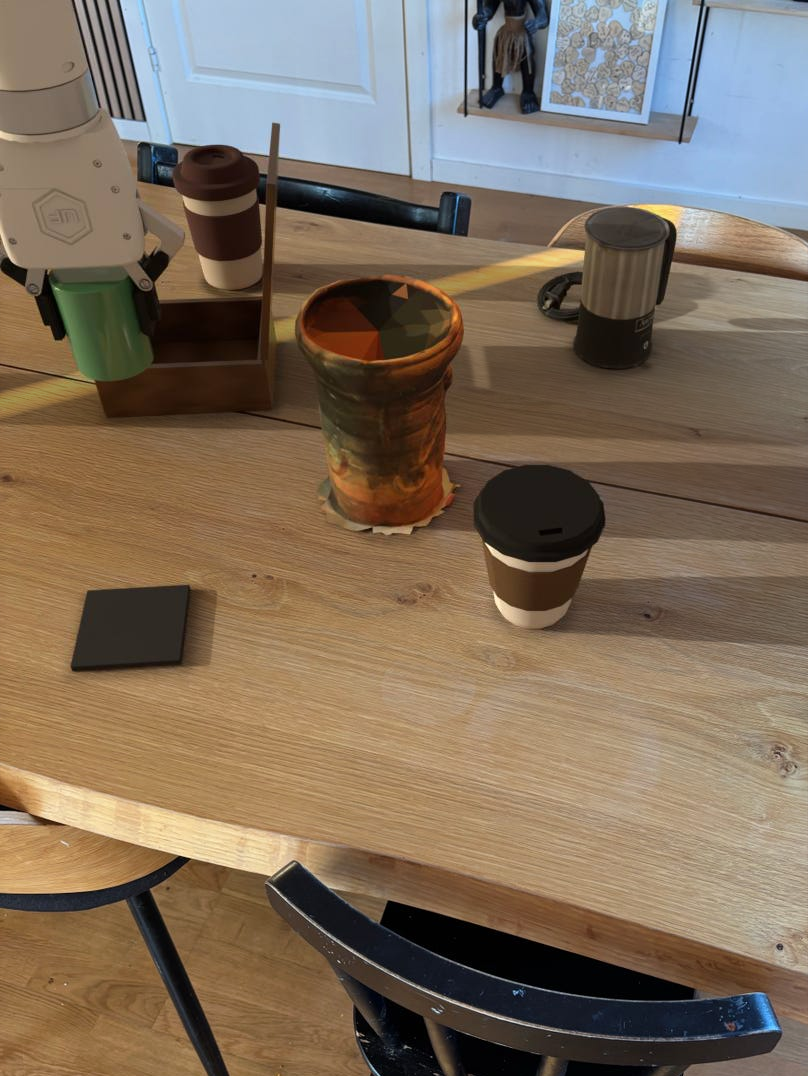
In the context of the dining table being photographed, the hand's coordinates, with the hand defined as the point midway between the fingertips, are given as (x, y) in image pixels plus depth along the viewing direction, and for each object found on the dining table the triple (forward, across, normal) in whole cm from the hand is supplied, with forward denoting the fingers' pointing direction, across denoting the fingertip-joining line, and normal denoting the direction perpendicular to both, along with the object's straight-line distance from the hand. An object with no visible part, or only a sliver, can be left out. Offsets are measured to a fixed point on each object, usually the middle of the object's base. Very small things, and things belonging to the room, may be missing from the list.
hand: (106, 327), depth 84 cm
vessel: (+20, +22, 0) cm, 30 cm away
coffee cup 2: (+20, +34, -16) cm, 43 cm away
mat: (+20, -1, -16) cm, 25 cm away
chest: (+20, +2, +22) cm, 30 cm away
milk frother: (+20, +48, +28) cm, 59 cm away
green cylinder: (+3, 0, 0) cm, 3 cm away
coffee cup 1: (+20, +5, +44) cm, 49 cm away
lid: (+4, +12, +22) cm, 25 cm away
